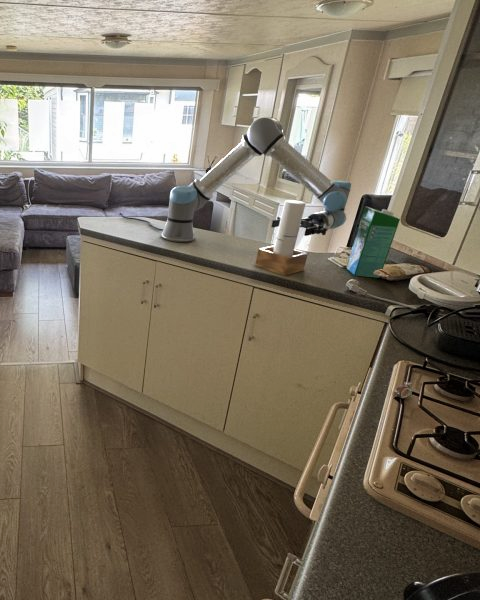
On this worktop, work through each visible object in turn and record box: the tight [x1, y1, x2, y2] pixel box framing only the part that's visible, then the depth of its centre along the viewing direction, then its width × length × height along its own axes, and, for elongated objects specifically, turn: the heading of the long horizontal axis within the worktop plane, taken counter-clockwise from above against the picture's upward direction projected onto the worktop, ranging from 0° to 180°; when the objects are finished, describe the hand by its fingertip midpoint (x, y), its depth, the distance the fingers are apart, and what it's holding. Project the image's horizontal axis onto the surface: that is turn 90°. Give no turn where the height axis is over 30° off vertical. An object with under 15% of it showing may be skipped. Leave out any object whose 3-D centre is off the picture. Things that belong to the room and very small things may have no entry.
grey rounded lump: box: [394, 381, 413, 399], centre depth 93 cm, size 3×2×4 cm
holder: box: [254, 244, 309, 277], centre depth 168 cm, size 13×13×7 cm
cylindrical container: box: [273, 199, 307, 257], centre depth 164 cm, size 7×7×25 cm
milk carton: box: [345, 206, 401, 279], centre depth 163 cm, size 9×9×25 cm
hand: (288, 227), depth 163 cm, fingers open, 13 cm apart
